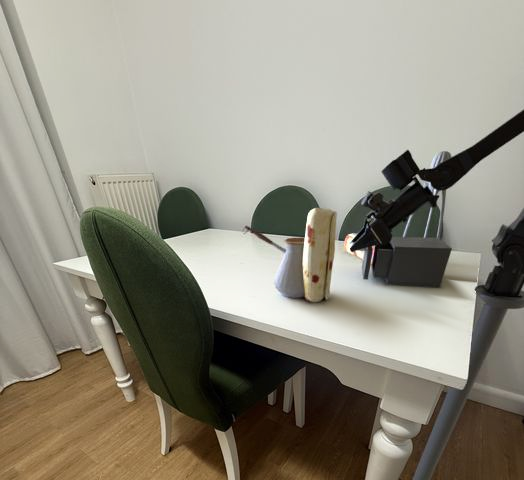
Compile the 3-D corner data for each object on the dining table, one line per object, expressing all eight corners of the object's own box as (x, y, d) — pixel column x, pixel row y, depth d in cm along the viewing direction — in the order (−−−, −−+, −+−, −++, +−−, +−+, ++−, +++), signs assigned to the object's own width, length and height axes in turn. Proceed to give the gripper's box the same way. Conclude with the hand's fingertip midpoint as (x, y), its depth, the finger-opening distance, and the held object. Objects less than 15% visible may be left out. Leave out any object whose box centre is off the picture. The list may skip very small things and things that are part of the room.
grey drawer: (346, 278, 80) (350, 248, 76) (346, 266, 89) (350, 239, 85) (409, 281, 76) (417, 250, 72) (402, 269, 86) (409, 241, 82)
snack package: (390, 266, 92) (395, 243, 88) (371, 267, 91) (375, 245, 87) (358, 251, 110) (361, 232, 106) (342, 252, 108) (344, 233, 105)
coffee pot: (325, 289, 75) (331, 228, 68) (305, 304, 67) (309, 236, 60) (258, 277, 86) (256, 222, 78) (234, 288, 78) (229, 229, 70)
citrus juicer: (396, 259, 98) (419, 152, 82) (422, 257, 99) (450, 151, 83) (417, 269, 88) (447, 150, 73) (446, 266, 90) (482, 149, 74)
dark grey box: (387, 284, 77) (395, 246, 72) (382, 270, 88) (389, 236, 83) (439, 287, 75) (452, 248, 69) (428, 272, 85) (438, 237, 80)
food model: (307, 290, 75) (313, 204, 65) (333, 293, 73) (343, 205, 62) (296, 304, 68) (300, 210, 57) (324, 308, 65) (334, 210, 55)
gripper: (382, 177, 78) (334, 218, 86) (390, 180, 63) (331, 230, 71) (404, 211, 81) (355, 248, 89) (417, 222, 66) (357, 265, 74)
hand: (350, 247), depth 81 cm, fingers closed on grey drawer, 6 cm apart
